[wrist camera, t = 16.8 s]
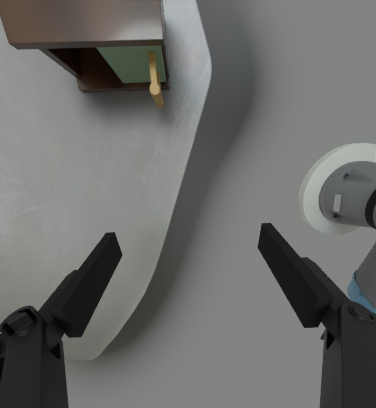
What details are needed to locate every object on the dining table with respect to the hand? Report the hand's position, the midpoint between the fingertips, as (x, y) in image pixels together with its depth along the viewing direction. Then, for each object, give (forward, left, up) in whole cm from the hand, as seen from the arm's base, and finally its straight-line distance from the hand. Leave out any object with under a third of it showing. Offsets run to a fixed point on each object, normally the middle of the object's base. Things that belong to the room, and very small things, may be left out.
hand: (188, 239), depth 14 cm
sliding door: (+5, -18, -21) cm, 28 cm away
